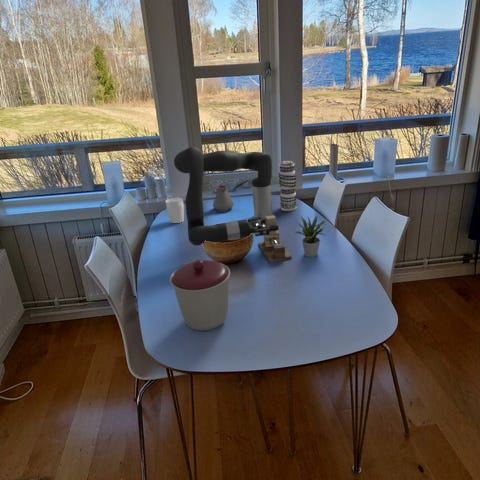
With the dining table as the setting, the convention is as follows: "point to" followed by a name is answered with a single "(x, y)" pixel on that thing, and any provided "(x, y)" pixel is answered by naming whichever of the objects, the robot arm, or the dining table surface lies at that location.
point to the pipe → (274, 241)
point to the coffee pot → (224, 198)
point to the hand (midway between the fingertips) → (275, 223)
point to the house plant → (311, 236)
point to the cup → (175, 209)
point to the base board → (275, 252)
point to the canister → (202, 293)
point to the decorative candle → (287, 186)
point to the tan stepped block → (269, 222)
